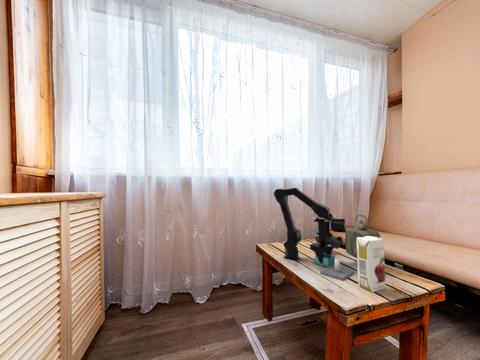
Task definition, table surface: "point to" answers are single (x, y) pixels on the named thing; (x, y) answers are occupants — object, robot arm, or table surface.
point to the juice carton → (371, 263)
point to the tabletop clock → (352, 236)
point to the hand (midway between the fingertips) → (324, 261)
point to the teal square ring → (326, 260)
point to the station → (337, 271)
